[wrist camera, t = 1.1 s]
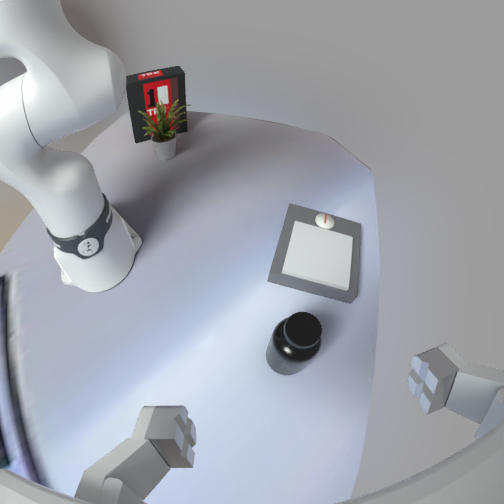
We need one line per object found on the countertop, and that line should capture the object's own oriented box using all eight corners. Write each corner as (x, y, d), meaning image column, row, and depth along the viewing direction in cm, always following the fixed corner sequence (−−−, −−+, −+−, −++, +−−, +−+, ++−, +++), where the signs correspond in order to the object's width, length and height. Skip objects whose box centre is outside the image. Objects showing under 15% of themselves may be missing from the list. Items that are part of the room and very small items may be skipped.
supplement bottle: (314, 351, 44) (340, 324, 34) (291, 384, 40) (311, 366, 30) (281, 328, 46) (296, 294, 36) (256, 359, 42) (265, 333, 33)
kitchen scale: (267, 281, 51) (270, 269, 48) (287, 213, 61) (290, 200, 58) (350, 303, 49) (358, 293, 46) (355, 232, 60) (362, 220, 57)
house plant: (206, 155, 73) (205, 101, 59) (164, 178, 66) (156, 120, 53) (175, 137, 78) (171, 89, 65) (136, 157, 71) (127, 106, 58)
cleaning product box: (181, 120, 85) (179, 65, 69) (187, 131, 80) (184, 72, 64) (133, 130, 80) (125, 76, 64) (135, 143, 75) (125, 84, 59)
